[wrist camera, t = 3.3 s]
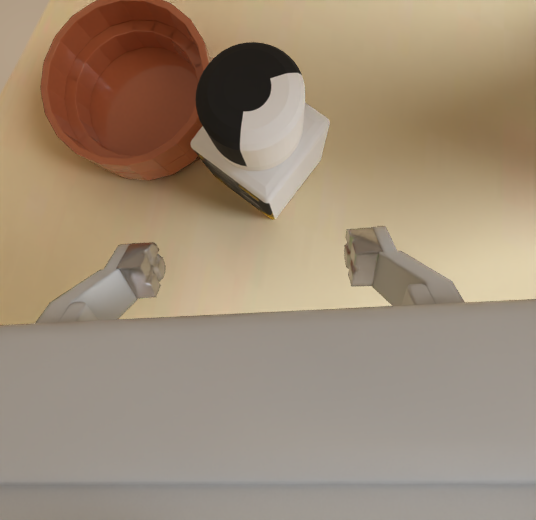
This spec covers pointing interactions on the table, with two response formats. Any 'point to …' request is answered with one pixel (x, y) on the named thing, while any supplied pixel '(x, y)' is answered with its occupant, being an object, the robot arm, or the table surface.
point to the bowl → (126, 86)
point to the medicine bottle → (258, 125)
